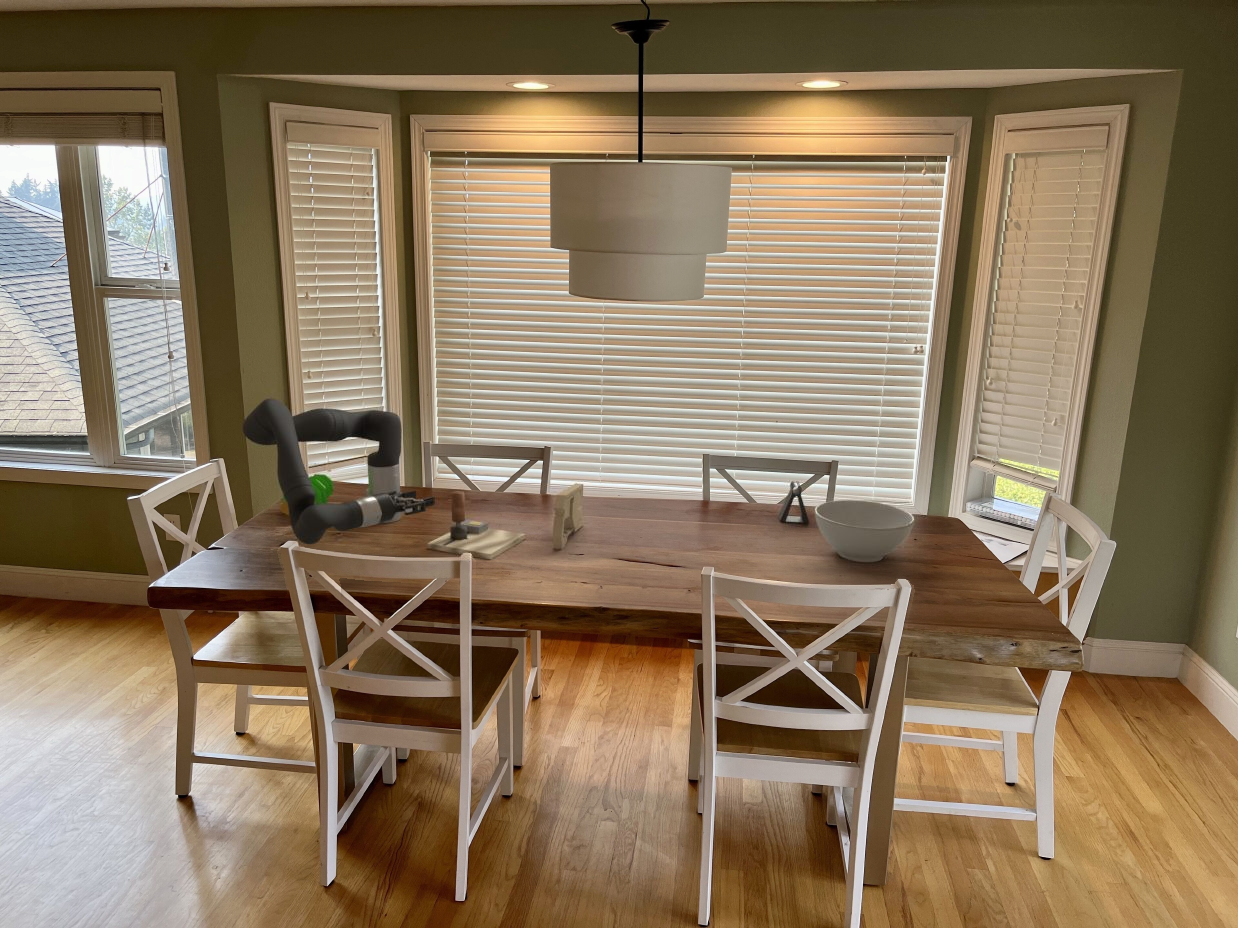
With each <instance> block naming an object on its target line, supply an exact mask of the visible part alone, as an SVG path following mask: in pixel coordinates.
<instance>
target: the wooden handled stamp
mask: <svg viewBox="0 0 1238 928" xmlns="http://www.w3.org/2000/svg"><path fill="white" fill-rule="evenodd" d="M450 494H451V495H450V496H451V521H452V522H453V523H455V524H453V525H451V526H450V531H449V532H450V535H451V539H454V540H463V539H466V538H467V526H465V525H461V522H463V521H465V520H466V514H465V513H466V506H465V504H466V500H465V492H464V491H462V490H456V491H451V493H450Z"/></svg>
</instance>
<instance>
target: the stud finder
mask: <svg viewBox="0 0 1238 928" xmlns="http://www.w3.org/2000/svg"><path fill="white" fill-rule="evenodd" d="M461 525H465V526H467V532H470V533H476V534H480V533H482V532H484V531H486V530H488V528H489V522H487V521H481V520H473V519H467V518H466V519H465V521H463V522H461Z"/></svg>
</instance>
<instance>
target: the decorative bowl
mask: <svg viewBox="0 0 1238 928" xmlns="http://www.w3.org/2000/svg"><path fill="white" fill-rule="evenodd" d="M814 517H815V522H816V525H817V527H818V529H819V531H820V533H821V535H822V537H823V538H824V539H825V541H826V542H827V543H828V544H829V545H830V546H831V547H832V548H833V549H835V550H836V551H837V554H838V555H839V556H840V557H841V558H844V559H846V560H849V561H853V562H858V563H859V562H860V563H874V562H878V561H881V560H883V558H884V556H886V555H889V554H891V553H892V552H893V551H895V550H897V549H898V548H899V547H900V546H901V545H902V544H903V543H904V542H905V540H906V539H907V538H908V536H909V534H910V533H911V531H912V530H913V528H914V524H915V521H916V519H915V517H914V515H913V514H911V513H910V512H909V511H908V510H905V509H903V508H900V507H897V506H895V505H890V504H886V503H882V502H876V501H869V500H868V501H867V500H857V499H856V500H855V499H852V500H851V499H845V500H844V499H841V500H832V501H831V500H830V501H827V502H826V501H825V502H822V503H820V504H818V505H817V506H816V507H815V508H814Z"/></svg>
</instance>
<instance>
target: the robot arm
mask: <svg viewBox="0 0 1238 928" xmlns="http://www.w3.org/2000/svg"><path fill="white" fill-rule="evenodd" d="M242 432H243V435H244V437H246V439H248V440H249V441H251V442H252V443H255V444H256V445H262V446H275V445H276V449H277V462H276V463H277V464H276V465H277V469H276V470H277V471H276V472H277V474H276V475H277V479H278V484H279V487H280V489H281V492H282V495H283V494H284V497H285V499H286V501H287V504H288V509H289V515H288V516H289V521H290V525H291V529H292V532H293V534H294V536H295V537H296V539H297V540H299V542H301V543H303V544H304V545H305V544H306V545H314V544H317V543H318V542H320V540H321V539H322V538H323V537H324V535H325V533H326V531H327V530H329V529H331V528H334V529H335V530H336V531H339V532H345V531H351V530H355V529H359V528H364V527H370V526H373V525H378V524H382V523H383V524H384V523H385V524H386V523H388V524H389V523H395V522H397V521H399V520H401V519H402V514H403V513H404V516H410V515H414V514H420V513H425V512H426V509H427V507H432V506H434V505H435V504H436V500H435V497H433V496H429V497H426V498H425V497H424V498H422V499H416V498H417V491H416V490H407V491H405V492H402V491H401V477H400V476H401V475H400V472H401V471H400V457H401V453H402V433H403V432H402V422H401V419H400V417H399V415H398V414H397V413H395V412H393V411H385V410H377V409H371V410H370V409H369V410H363V411H346V410H342V409H339V408H338V409H337V408H326V407H325V408H323V407H322V408H321V407H320V408H313V409H309V410H307V411H306V410H305V411H304V412H300V413H298V414H295V415H293V416H292V413H291V411H290V410H289V408H288V407H287V406H286V405H285V404H284V403H283V402H281V401H280V400H278V399H276V398H266V399H263V400H262V401H261V402H260V403H259V404H257V406H256V407H255V408H254V409H253V410H252V411H251V412H249V414H248V415H247V417H246V418H245V419H244V421H243V423H242ZM347 438H356V439H363V440H368V441H372V442H378V449H377V451H375V452H371V453H369V454H368V455H367V458H366V459H367V460H366V461H367V476H368V483H367V484H368V487H367V488H366V489H365V494H366V495H365V496H362V497H359V498H357V499H354V500H353V499H352V500H350V501H349V500H348V501H345V502H341V503H326V504H324V503H322V504H314V502H315V498H316V495H315V491H314V489H313V486H312V484H311V482H310V479H309V477H310V476H309V475H308V473H307V470H306V467H305V464H304V461H303V458H302V453H301V449H300V445H299V443H308V442H313V443H314V442H317V443H326V442H327V443H328V442H329V443H331V442H332V443H335V442H341V441H344V440H345V439H347Z"/></svg>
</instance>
